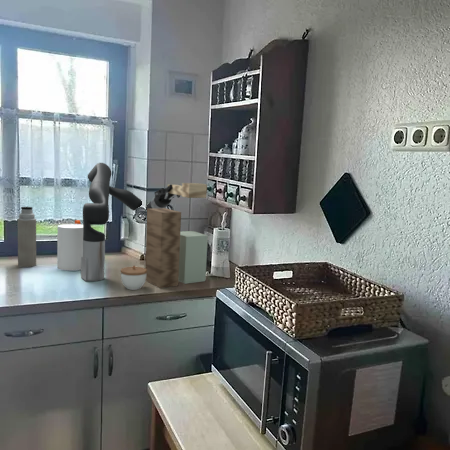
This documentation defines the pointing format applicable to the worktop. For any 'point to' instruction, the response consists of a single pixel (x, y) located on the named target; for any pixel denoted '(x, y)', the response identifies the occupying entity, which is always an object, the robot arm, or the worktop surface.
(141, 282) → the lidded jar
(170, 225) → the tall box
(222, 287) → the worktop surface
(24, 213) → the thermos bottle
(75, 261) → the canister
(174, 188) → the wooden block
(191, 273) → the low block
